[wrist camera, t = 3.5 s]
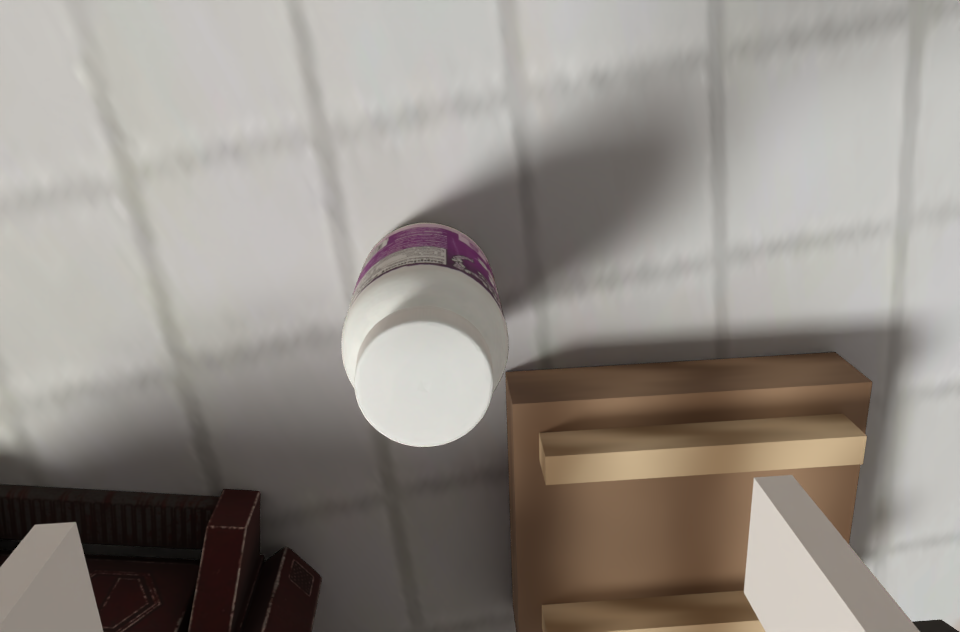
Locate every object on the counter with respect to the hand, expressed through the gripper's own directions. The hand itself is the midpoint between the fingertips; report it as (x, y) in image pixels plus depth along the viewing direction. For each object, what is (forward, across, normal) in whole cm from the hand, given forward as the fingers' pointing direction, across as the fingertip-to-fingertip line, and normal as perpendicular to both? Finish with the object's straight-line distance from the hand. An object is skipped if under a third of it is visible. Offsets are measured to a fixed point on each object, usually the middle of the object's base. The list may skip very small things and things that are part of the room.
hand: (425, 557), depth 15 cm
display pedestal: (+17, +10, -10) cm, 22 cm away
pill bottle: (+17, 0, 0) cm, 17 cm away
